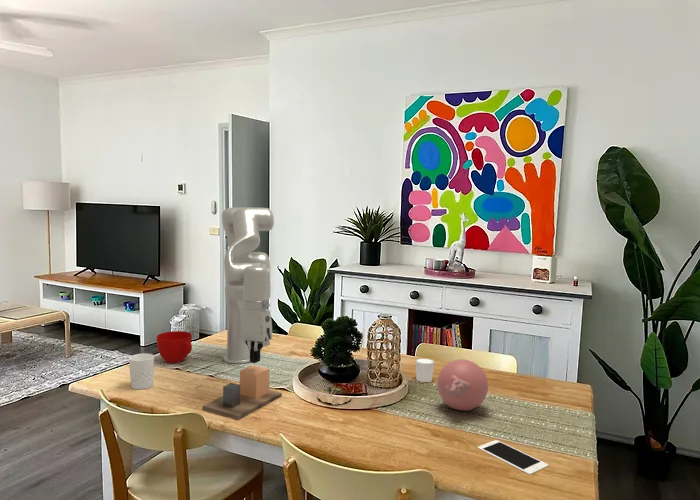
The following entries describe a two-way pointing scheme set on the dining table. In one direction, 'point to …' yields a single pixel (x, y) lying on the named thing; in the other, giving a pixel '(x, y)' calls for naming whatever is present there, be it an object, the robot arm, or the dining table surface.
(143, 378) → the white cup
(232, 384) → the dark post
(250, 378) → the peach cube
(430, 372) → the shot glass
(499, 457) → the cell phone
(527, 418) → the dining table surface
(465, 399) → the pink stress ball
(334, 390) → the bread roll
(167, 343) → the ceramic cup
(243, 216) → the robot arm
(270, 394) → the walnut board
